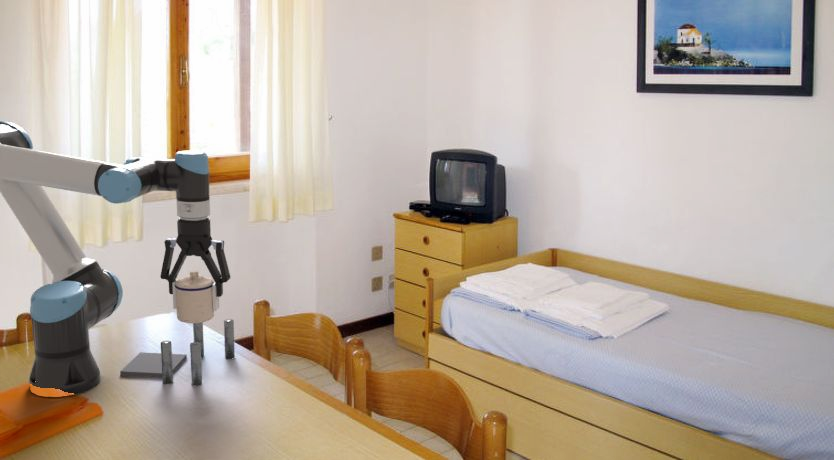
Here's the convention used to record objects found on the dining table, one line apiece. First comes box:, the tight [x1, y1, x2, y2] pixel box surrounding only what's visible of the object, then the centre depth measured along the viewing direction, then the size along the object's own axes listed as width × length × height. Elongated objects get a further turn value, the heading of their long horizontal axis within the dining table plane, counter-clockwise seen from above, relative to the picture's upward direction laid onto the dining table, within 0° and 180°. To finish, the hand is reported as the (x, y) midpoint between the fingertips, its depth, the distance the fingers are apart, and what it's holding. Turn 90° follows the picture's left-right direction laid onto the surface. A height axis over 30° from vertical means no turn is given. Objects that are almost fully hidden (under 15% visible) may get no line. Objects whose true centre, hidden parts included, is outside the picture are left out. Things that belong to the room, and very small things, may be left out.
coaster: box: [119, 351, 188, 379], centre depth 194 cm, size 12×12×1 cm
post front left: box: [160, 340, 174, 385], centre depth 185 cm, size 2×2×10 cm
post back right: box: [223, 318, 236, 360], centre depth 200 cm, size 2×2×10 cm
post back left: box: [192, 322, 205, 358], centre depth 201 cm, size 2×2×10 cm
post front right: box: [189, 341, 203, 387], centre depth 185 cm, size 2×2×10 cm
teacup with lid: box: [175, 270, 215, 324], centre depth 189 cm, size 12×9×12 cm
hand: (196, 307), depth 190 cm, fingers closed on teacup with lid, 9 cm apart
